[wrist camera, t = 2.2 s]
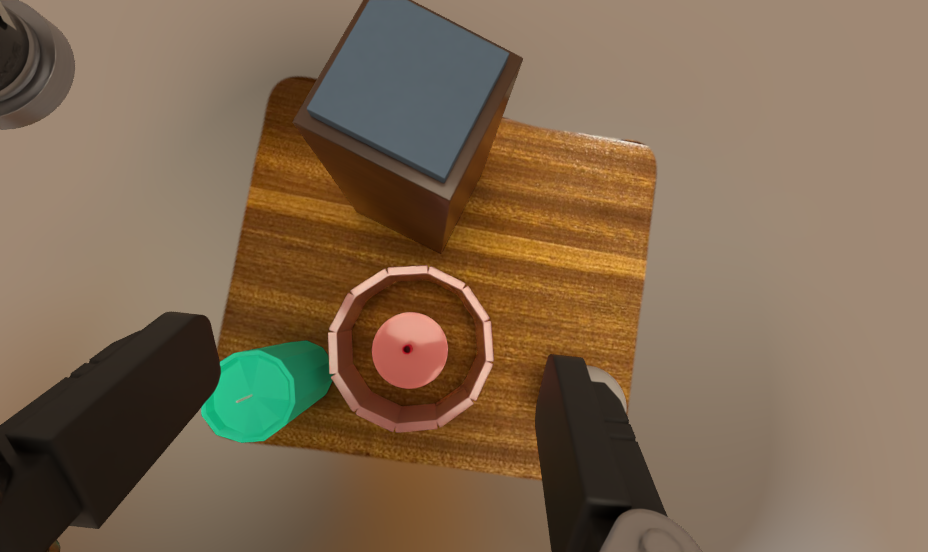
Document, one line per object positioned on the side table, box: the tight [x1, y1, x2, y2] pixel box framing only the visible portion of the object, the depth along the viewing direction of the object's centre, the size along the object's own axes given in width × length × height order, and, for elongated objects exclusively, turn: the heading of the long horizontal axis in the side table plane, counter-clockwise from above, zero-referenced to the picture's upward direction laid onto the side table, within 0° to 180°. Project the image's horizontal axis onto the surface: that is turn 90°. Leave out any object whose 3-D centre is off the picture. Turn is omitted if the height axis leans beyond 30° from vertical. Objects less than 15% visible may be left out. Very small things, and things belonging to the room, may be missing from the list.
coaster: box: [307, 0, 509, 183], centre depth 21 cm, size 8×8×1 cm
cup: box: [372, 312, 448, 389], centre depth 32 cm, size 5×5×12 cm
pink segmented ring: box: [328, 265, 494, 433], centre depth 35 cm, size 13×13×6 cm
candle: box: [201, 340, 333, 443], centre depth 31 cm, size 6×6×12 cm
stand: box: [293, 0, 523, 254], centre depth 30 cm, size 9×9×18 cm
